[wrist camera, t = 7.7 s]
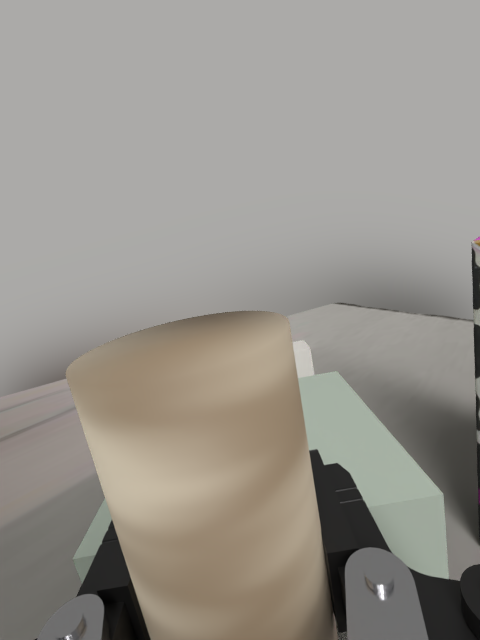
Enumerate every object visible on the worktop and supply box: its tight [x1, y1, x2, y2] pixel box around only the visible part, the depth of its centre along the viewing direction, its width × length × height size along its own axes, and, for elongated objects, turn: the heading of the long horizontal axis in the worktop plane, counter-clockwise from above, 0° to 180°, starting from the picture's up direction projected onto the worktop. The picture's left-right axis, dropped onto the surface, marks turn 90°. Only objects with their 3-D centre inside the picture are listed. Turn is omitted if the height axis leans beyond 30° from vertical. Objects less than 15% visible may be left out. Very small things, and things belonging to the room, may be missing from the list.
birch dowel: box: [66, 311, 338, 640], centre depth 8 cm, size 4×4×14 cm
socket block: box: [73, 371, 449, 624], centre depth 21 cm, size 16×14×6 cm
